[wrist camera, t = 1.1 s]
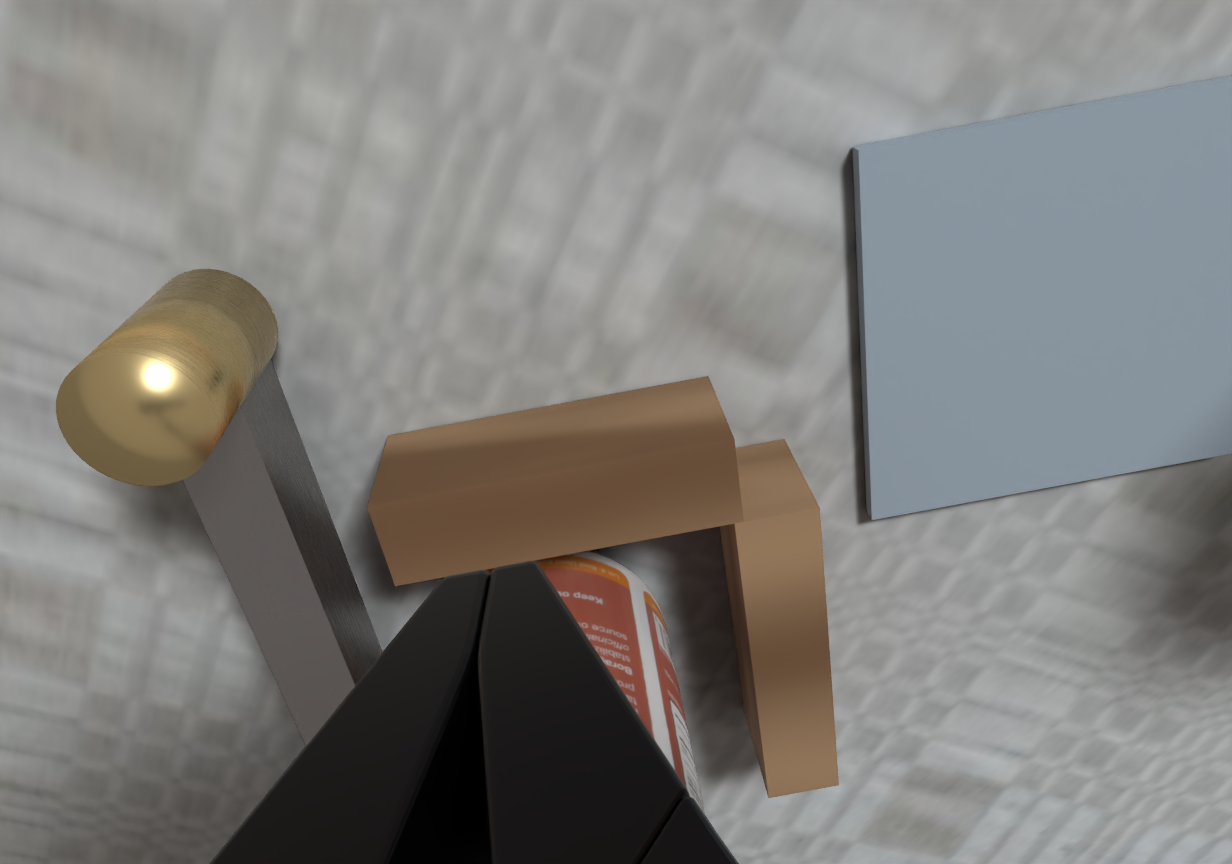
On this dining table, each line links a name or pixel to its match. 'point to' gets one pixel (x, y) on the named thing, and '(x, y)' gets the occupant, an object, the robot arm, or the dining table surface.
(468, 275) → the dining table surface
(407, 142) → the dining table surface
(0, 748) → the dining table surface
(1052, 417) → the pad
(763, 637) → the wooden angled piece
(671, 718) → the pill bottle
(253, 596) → the lever
